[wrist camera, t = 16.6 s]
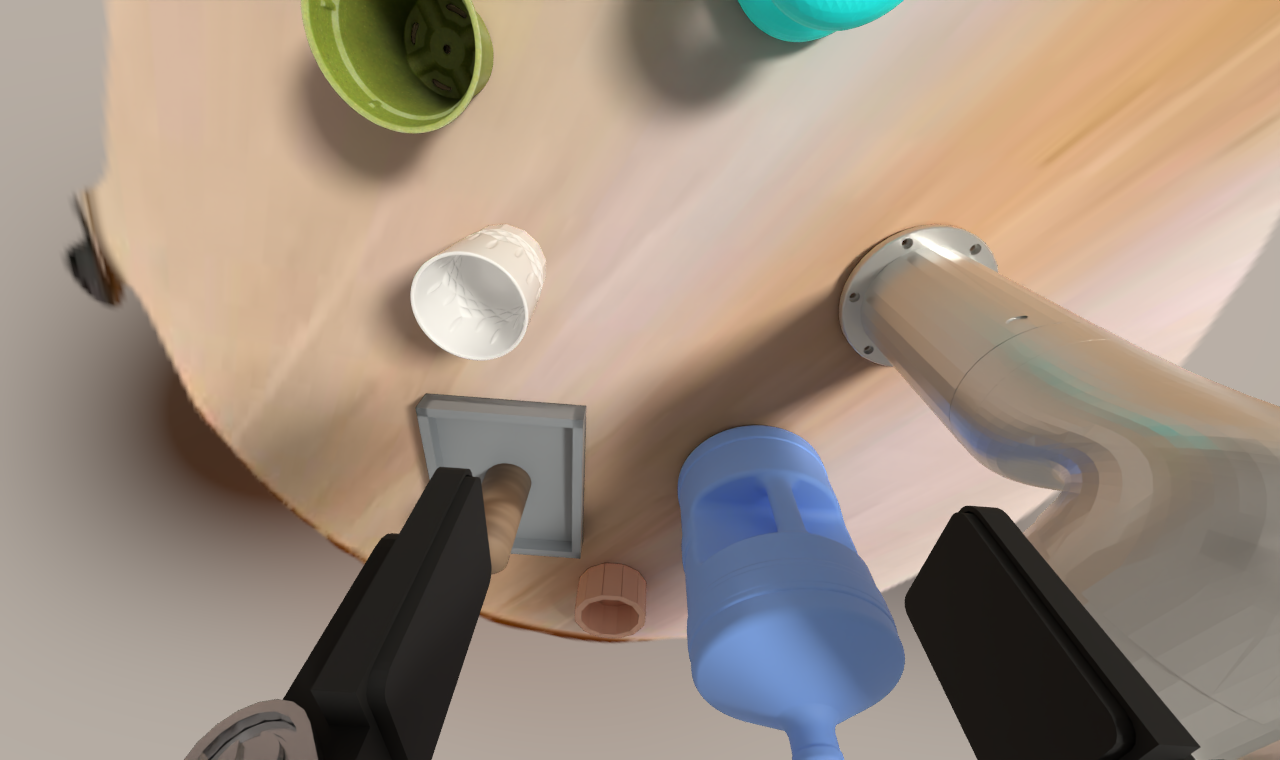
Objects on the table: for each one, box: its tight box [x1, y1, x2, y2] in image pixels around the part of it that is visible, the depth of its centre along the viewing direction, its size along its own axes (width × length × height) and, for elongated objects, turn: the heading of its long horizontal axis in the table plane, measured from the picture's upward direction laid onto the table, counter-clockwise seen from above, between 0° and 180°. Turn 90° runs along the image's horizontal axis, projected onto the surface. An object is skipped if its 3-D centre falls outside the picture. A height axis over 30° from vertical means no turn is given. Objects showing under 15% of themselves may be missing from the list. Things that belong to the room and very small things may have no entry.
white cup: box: [410, 224, 546, 360], centre depth 37 cm, size 8×8×10 cm
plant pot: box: [301, 0, 493, 134], centre depth 30 cm, size 9×9×9 cm
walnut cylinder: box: [482, 463, 531, 574], centre depth 48 cm, size 5×5×10 cm
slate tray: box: [416, 394, 586, 558], centre depth 52 cm, size 16×20×2 cm
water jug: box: [678, 425, 905, 760], centre depth 41 cm, size 16×16×28 cm
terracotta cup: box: [575, 563, 646, 638], centre depth 61 cm, size 9×9×4 cm
